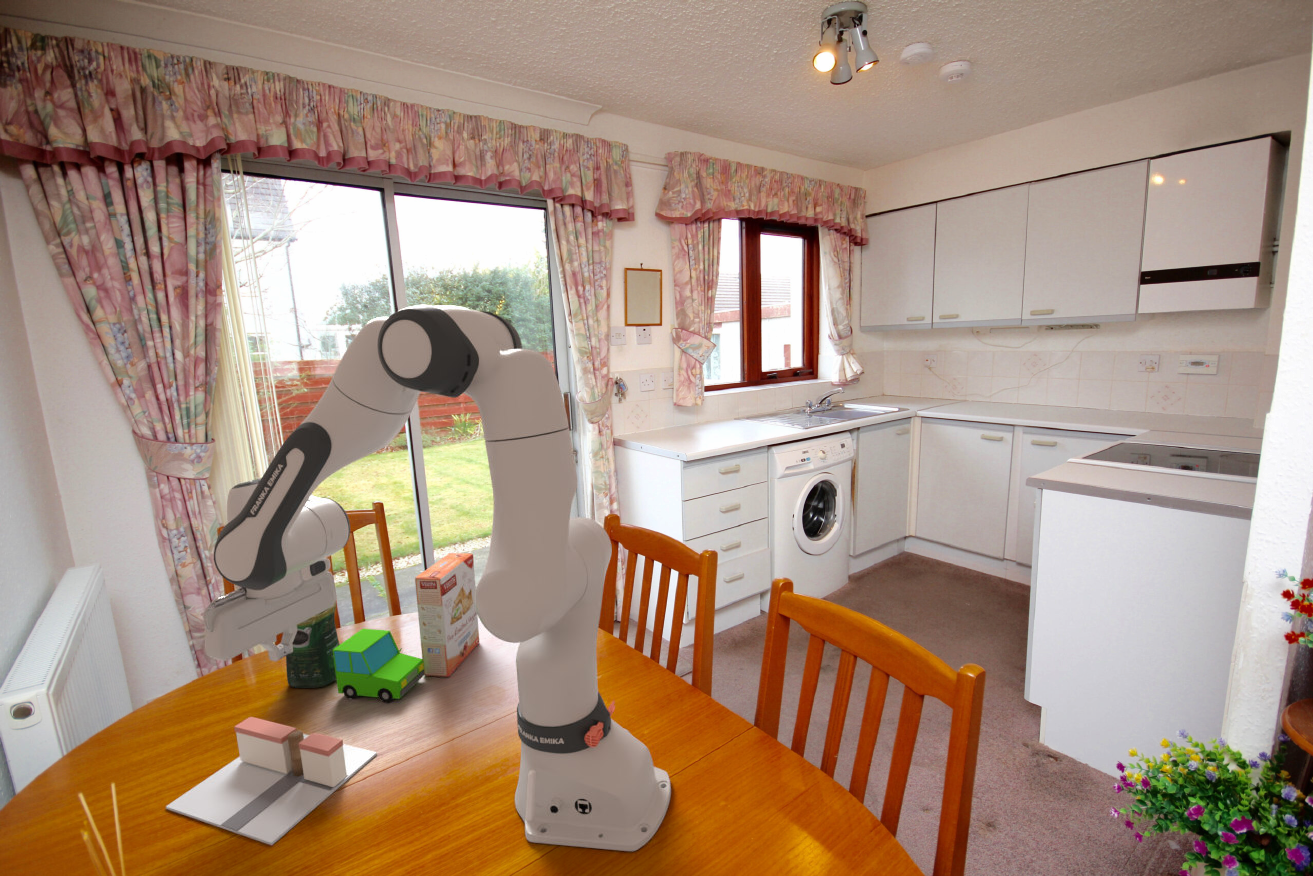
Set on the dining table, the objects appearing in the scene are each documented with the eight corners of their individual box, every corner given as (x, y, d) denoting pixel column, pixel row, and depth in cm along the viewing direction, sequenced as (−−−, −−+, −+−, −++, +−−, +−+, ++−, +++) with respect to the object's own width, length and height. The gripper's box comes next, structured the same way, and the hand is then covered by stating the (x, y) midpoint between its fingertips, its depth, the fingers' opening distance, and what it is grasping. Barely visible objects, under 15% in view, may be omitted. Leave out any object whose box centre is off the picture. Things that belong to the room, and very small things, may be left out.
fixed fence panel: (347, 775, 89) (342, 739, 88) (332, 788, 86) (327, 751, 85) (318, 767, 90) (313, 732, 90) (303, 779, 88) (298, 743, 87)
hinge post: (311, 771, 91) (306, 732, 90) (300, 780, 89) (294, 740, 88) (302, 768, 91) (296, 729, 90) (290, 777, 90) (284, 737, 88)
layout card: (376, 754, 94) (376, 751, 94) (271, 845, 77) (271, 842, 77) (281, 730, 101) (281, 727, 101) (166, 809, 84) (165, 805, 84)
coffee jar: (351, 668, 120) (341, 582, 117) (328, 690, 112) (315, 600, 109) (307, 667, 121) (295, 583, 118) (280, 690, 113) (266, 600, 110)
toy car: (398, 709, 106) (392, 658, 104) (335, 702, 109) (328, 652, 107) (430, 677, 116) (425, 630, 114) (371, 672, 119) (366, 626, 117)
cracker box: (451, 678, 115) (441, 578, 112) (422, 677, 116) (412, 577, 113) (482, 642, 129) (474, 552, 125) (456, 641, 130) (448, 551, 126)
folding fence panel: (301, 762, 92) (296, 728, 91) (286, 774, 89) (280, 738, 88) (255, 750, 95) (250, 716, 94) (240, 761, 93) (234, 726, 92)
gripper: (217, 607, 82) (231, 696, 85) (338, 556, 101) (346, 630, 104) (186, 601, 85) (201, 689, 87) (310, 552, 104) (320, 625, 106)
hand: (281, 656), depth 95 cm, fingers closed
